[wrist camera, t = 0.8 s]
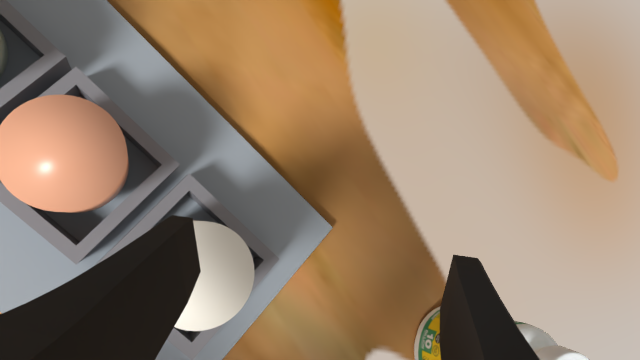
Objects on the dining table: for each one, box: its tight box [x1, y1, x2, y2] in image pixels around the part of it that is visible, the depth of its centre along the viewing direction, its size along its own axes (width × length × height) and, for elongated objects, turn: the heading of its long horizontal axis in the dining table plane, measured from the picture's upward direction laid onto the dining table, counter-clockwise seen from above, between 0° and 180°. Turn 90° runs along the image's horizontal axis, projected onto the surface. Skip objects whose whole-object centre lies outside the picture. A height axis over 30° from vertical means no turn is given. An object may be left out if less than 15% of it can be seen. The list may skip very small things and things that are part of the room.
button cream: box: [174, 221, 255, 331], centre depth 21 cm, size 4×4×4 cm
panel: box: [0, 0, 333, 360], centre depth 22 cm, size 14×24×3 cm, turn 47°
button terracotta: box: [0, 95, 129, 213], centre depth 19 cm, size 4×4×4 cm
